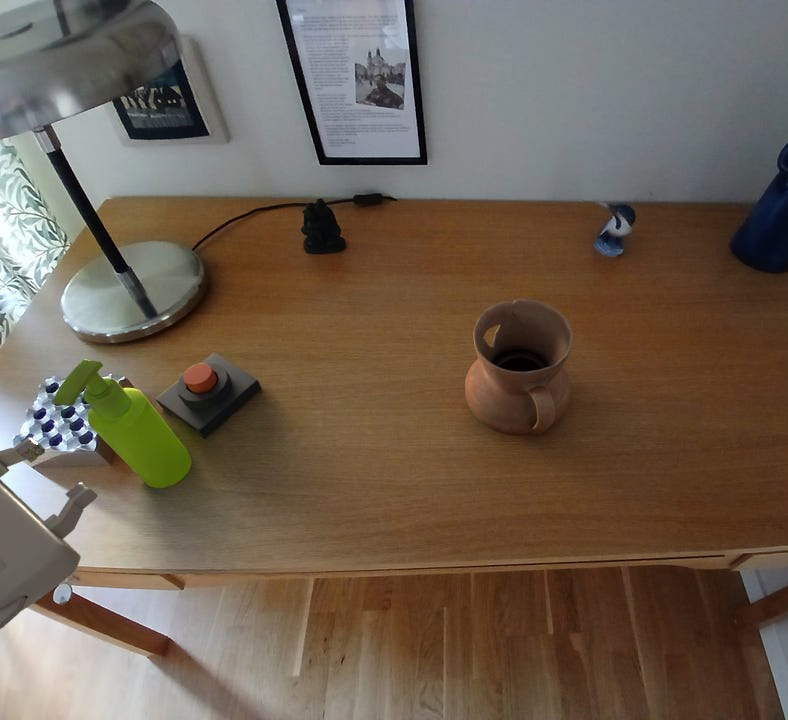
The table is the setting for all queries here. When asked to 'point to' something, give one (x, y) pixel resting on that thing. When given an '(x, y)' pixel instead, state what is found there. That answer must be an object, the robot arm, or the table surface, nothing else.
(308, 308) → the table surface
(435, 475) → the table surface
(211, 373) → the button
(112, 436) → the soap dispenser
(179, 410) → the red push button box
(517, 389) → the ceramic jug
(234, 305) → the table surface
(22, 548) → the robot arm
